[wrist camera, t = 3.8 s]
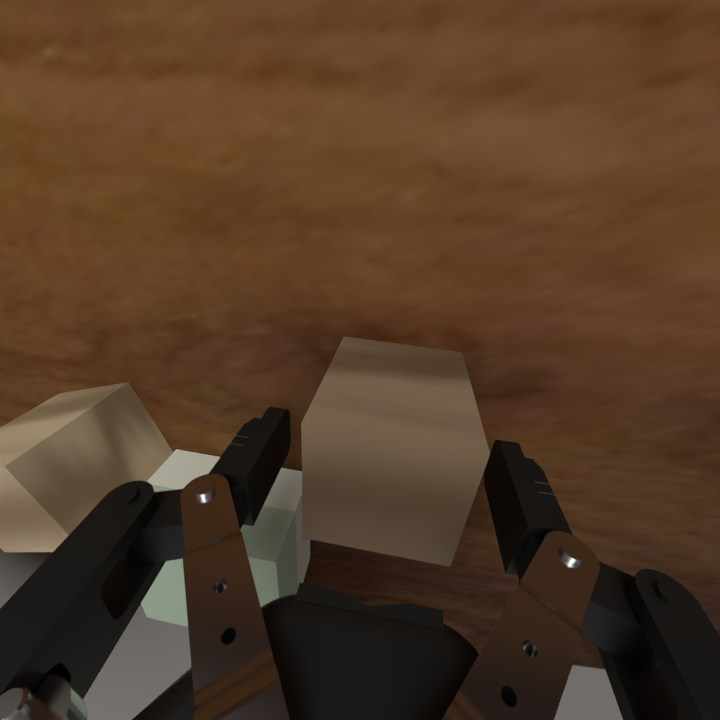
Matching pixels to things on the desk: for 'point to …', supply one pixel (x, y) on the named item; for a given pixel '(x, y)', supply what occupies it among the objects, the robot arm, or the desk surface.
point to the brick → (71, 462)
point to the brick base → (277, 494)
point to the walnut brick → (392, 451)
